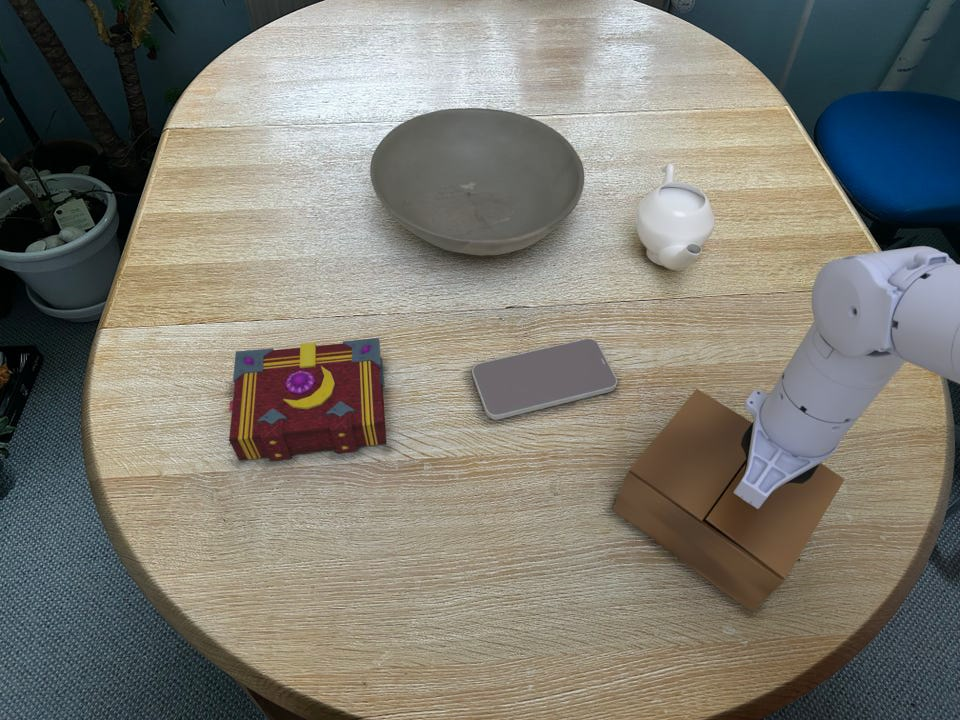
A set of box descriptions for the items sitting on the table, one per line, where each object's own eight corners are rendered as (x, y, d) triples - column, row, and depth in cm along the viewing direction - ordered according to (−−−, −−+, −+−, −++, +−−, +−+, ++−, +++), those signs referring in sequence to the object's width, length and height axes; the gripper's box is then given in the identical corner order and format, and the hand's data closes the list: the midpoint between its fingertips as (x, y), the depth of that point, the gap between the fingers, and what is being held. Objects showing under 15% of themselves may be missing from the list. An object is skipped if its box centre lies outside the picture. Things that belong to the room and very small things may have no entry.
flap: (843, 480, 59) (844, 479, 59) (784, 579, 53) (786, 577, 53) (769, 430, 61) (770, 428, 61) (705, 519, 56) (706, 518, 55)
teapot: (688, 206, 94) (707, 149, 87) (714, 311, 82) (738, 255, 75) (619, 204, 94) (633, 146, 87) (635, 308, 82) (652, 251, 75)
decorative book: (388, 448, 69) (384, 421, 65) (227, 467, 67) (212, 440, 63) (382, 362, 76) (378, 333, 72) (235, 377, 74) (223, 348, 70)
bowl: (362, 286, 83) (354, 235, 77) (388, 153, 101) (383, 102, 94) (583, 294, 83) (593, 243, 77) (570, 159, 101) (578, 109, 94)
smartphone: (469, 364, 75) (594, 335, 78) (469, 369, 76) (593, 341, 78) (489, 418, 70) (620, 385, 73) (488, 423, 71) (619, 390, 74)
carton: (808, 519, 65) (845, 479, 59) (751, 612, 59) (786, 578, 53) (675, 433, 71) (696, 387, 65) (612, 509, 65) (628, 468, 59)
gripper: (813, 305, 52) (753, 405, 63) (722, 422, 45) (672, 512, 56) (904, 352, 49) (825, 448, 60) (822, 484, 42) (750, 567, 53)
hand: (757, 482), depth 58 cm, fingers closed, pressing on flap
